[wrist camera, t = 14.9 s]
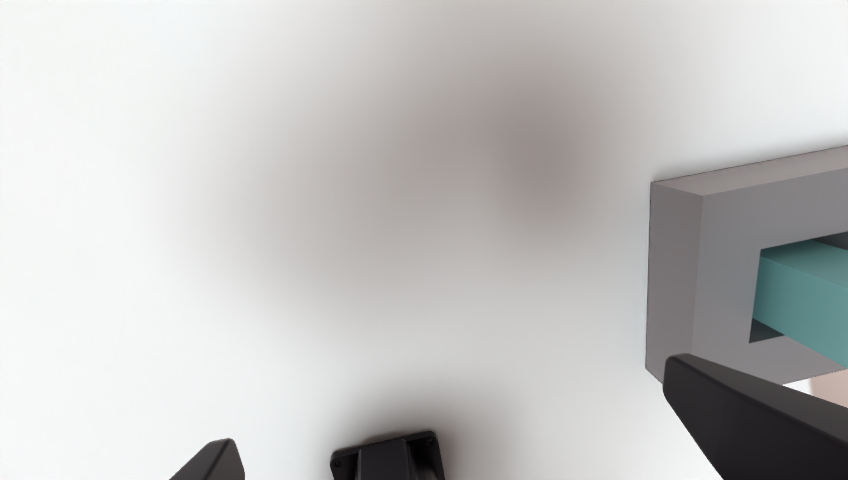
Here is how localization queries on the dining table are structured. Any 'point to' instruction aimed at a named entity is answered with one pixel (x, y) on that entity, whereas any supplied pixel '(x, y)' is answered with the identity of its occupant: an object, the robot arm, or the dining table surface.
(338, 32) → the dining table surface
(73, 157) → the dining table surface
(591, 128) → the dining table surface
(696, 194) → the socket block
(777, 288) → the teal rectangular block
